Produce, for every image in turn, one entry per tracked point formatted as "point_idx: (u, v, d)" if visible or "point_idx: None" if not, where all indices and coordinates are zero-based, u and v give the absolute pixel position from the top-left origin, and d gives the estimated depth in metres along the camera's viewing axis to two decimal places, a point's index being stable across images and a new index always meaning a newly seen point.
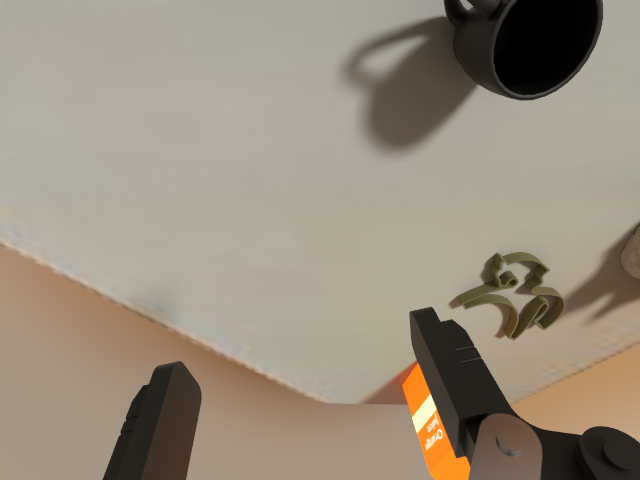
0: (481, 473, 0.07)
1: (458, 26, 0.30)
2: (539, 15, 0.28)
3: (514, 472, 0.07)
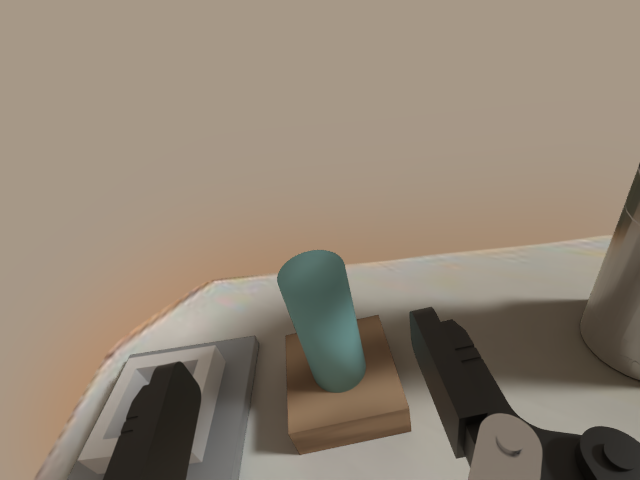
0: (481, 473, 0.07)
1: None
2: None
3: (514, 472, 0.07)
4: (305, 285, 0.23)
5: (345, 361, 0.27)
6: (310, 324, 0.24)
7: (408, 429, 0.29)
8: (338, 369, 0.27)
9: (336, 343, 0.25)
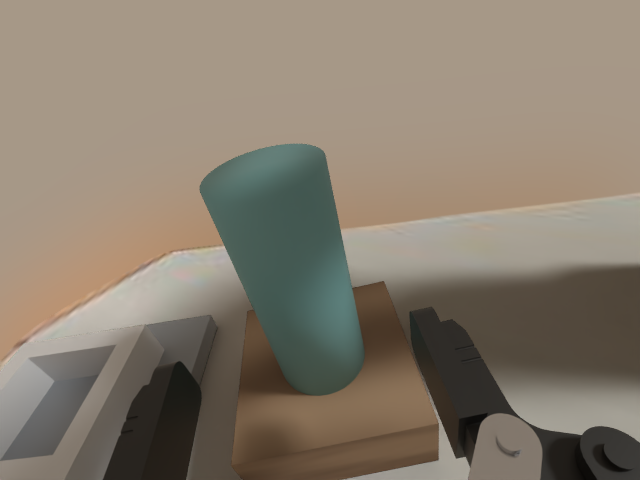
0: (481, 473, 0.07)
1: None
2: None
3: (514, 472, 0.07)
4: (247, 186, 0.12)
5: (328, 340, 0.16)
6: (260, 265, 0.13)
7: (434, 457, 0.18)
8: (317, 354, 0.16)
9: (311, 305, 0.14)
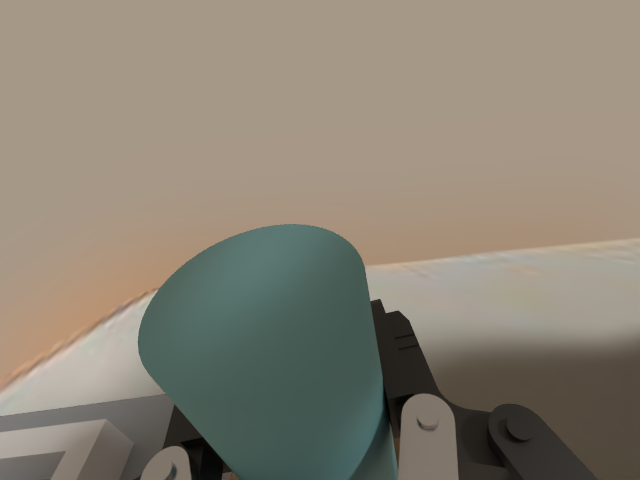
0: (409, 455, 0.07)
1: None
2: None
3: (435, 444, 0.07)
4: (222, 339, 0.06)
5: None
6: (248, 466, 0.07)
7: None
8: None
9: None
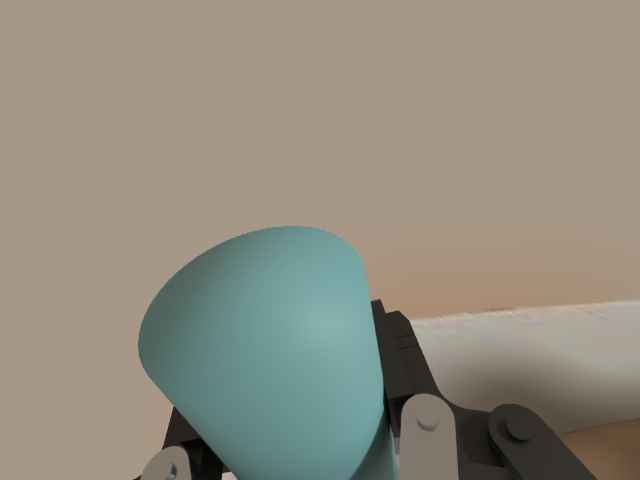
0: (409, 455, 0.07)
1: None
2: None
3: (435, 445, 0.07)
4: (222, 342, 0.06)
5: None
6: (248, 469, 0.07)
7: None
8: None
9: None
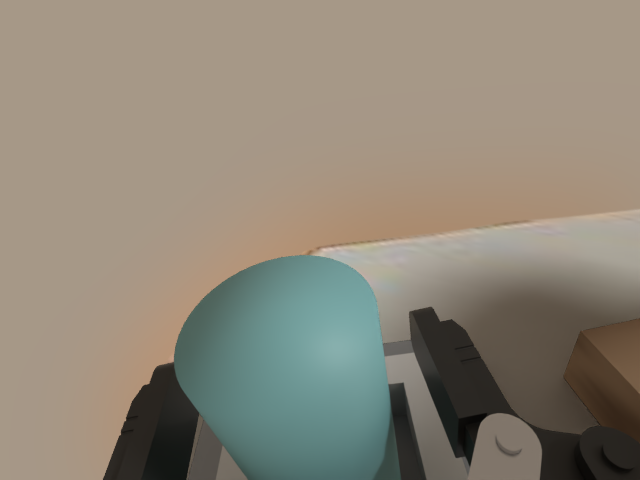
0: (480, 473, 0.07)
1: None
2: None
3: (513, 472, 0.07)
4: (251, 365, 0.07)
5: None
6: None
7: None
8: None
9: None
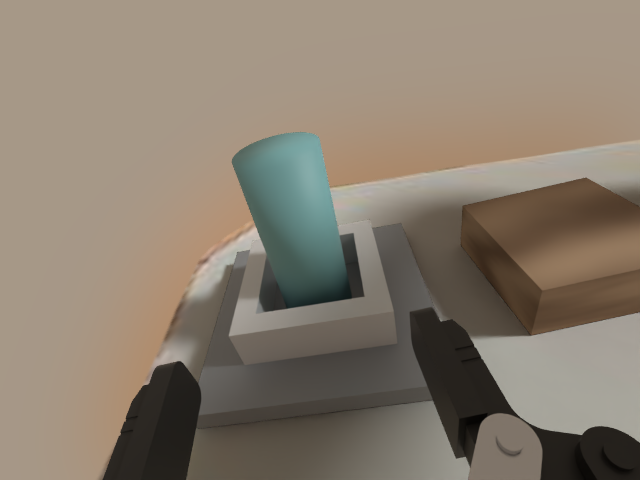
0: (481, 473, 0.07)
1: None
2: None
3: (514, 472, 0.07)
4: (265, 159, 0.18)
5: (323, 277, 0.21)
6: (274, 216, 0.18)
7: None
8: (315, 288, 0.22)
9: (310, 248, 0.20)
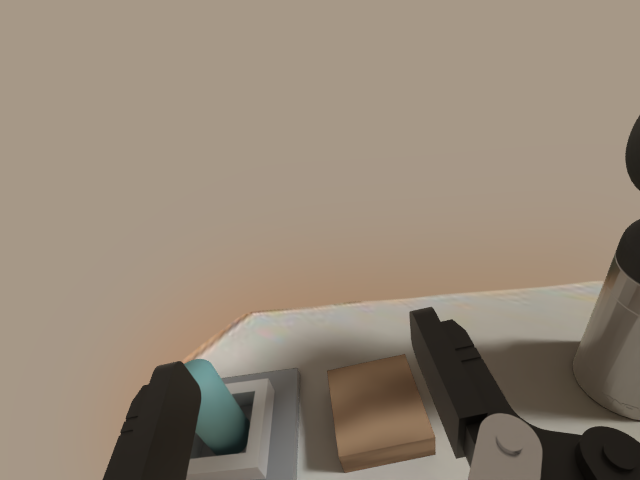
0: (481, 473, 0.07)
1: None
2: None
3: (514, 472, 0.07)
4: None
5: (223, 439, 0.37)
6: None
7: (433, 453, 0.36)
8: (219, 444, 0.37)
9: (212, 429, 0.35)
